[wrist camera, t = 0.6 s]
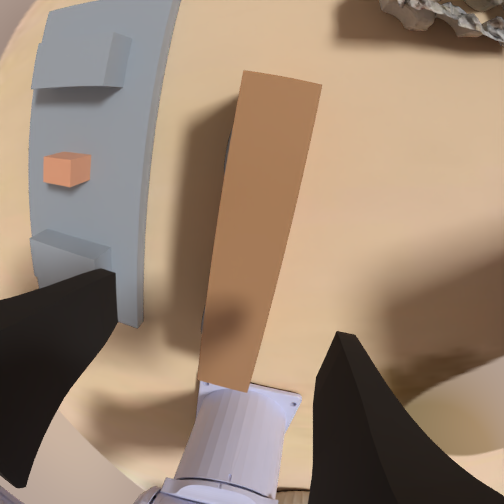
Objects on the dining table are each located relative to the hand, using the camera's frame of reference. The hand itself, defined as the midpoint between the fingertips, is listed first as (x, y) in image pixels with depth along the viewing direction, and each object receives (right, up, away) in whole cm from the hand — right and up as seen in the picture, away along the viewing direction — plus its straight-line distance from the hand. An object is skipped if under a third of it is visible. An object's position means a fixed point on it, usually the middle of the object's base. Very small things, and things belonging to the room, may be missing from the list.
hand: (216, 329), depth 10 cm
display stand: (-10, +8, +9) cm, 15 cm away
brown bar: (+2, +4, +9) cm, 10 cm away
